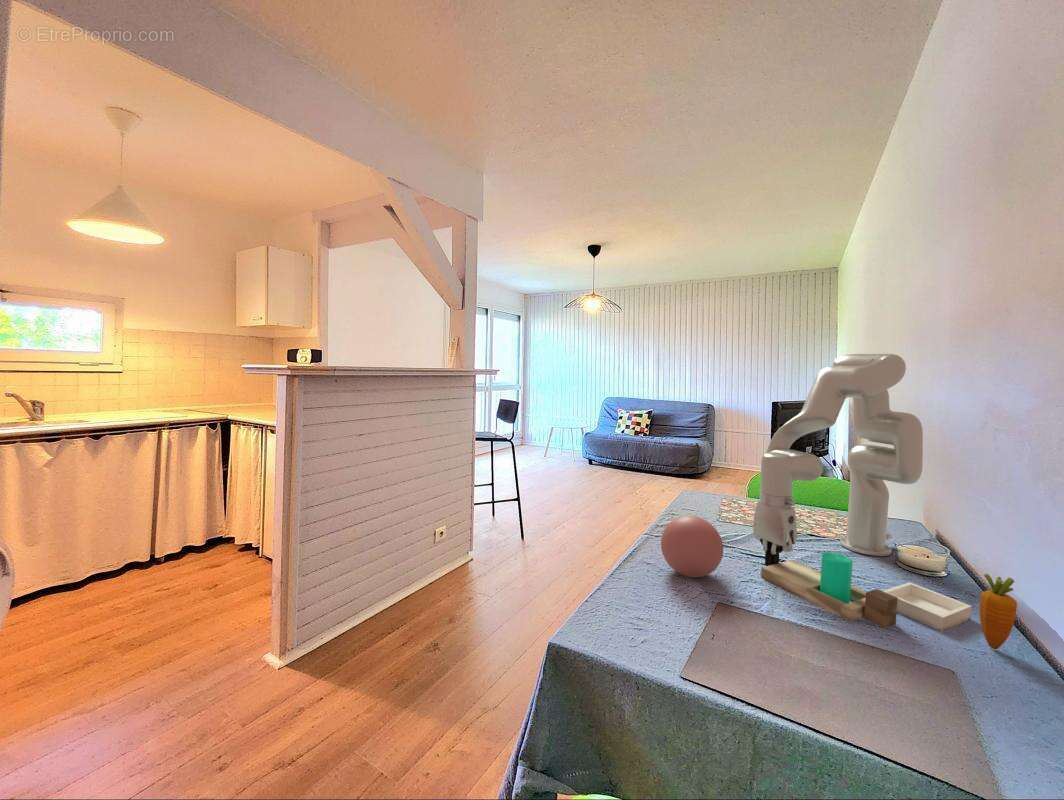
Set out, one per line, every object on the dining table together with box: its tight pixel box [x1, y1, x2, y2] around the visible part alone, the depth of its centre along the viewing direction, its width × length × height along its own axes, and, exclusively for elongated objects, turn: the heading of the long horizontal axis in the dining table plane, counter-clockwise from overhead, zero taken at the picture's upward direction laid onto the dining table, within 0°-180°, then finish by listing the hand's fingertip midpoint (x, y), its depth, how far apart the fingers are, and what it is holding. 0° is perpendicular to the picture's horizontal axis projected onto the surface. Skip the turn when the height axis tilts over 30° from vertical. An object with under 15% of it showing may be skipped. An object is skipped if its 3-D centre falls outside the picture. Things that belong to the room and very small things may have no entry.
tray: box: [882, 581, 973, 632], centre depth 101 cm, size 12×12×3 cm
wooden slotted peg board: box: [760, 559, 867, 622], centre depth 109 cm, size 12×22×2 cm, turn 24°
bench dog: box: [863, 588, 898, 629], centre depth 96 cm, size 4×4×6 cm
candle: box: [820, 550, 854, 604], centre depth 105 cm, size 6×6×12 cm
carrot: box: [979, 573, 1018, 650], centre depth 87 cm, size 5×5×15 cm
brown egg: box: [660, 515, 724, 578], centre depth 118 cm, size 15×20×15 cm
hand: (771, 566), depth 121 cm, fingers closed
